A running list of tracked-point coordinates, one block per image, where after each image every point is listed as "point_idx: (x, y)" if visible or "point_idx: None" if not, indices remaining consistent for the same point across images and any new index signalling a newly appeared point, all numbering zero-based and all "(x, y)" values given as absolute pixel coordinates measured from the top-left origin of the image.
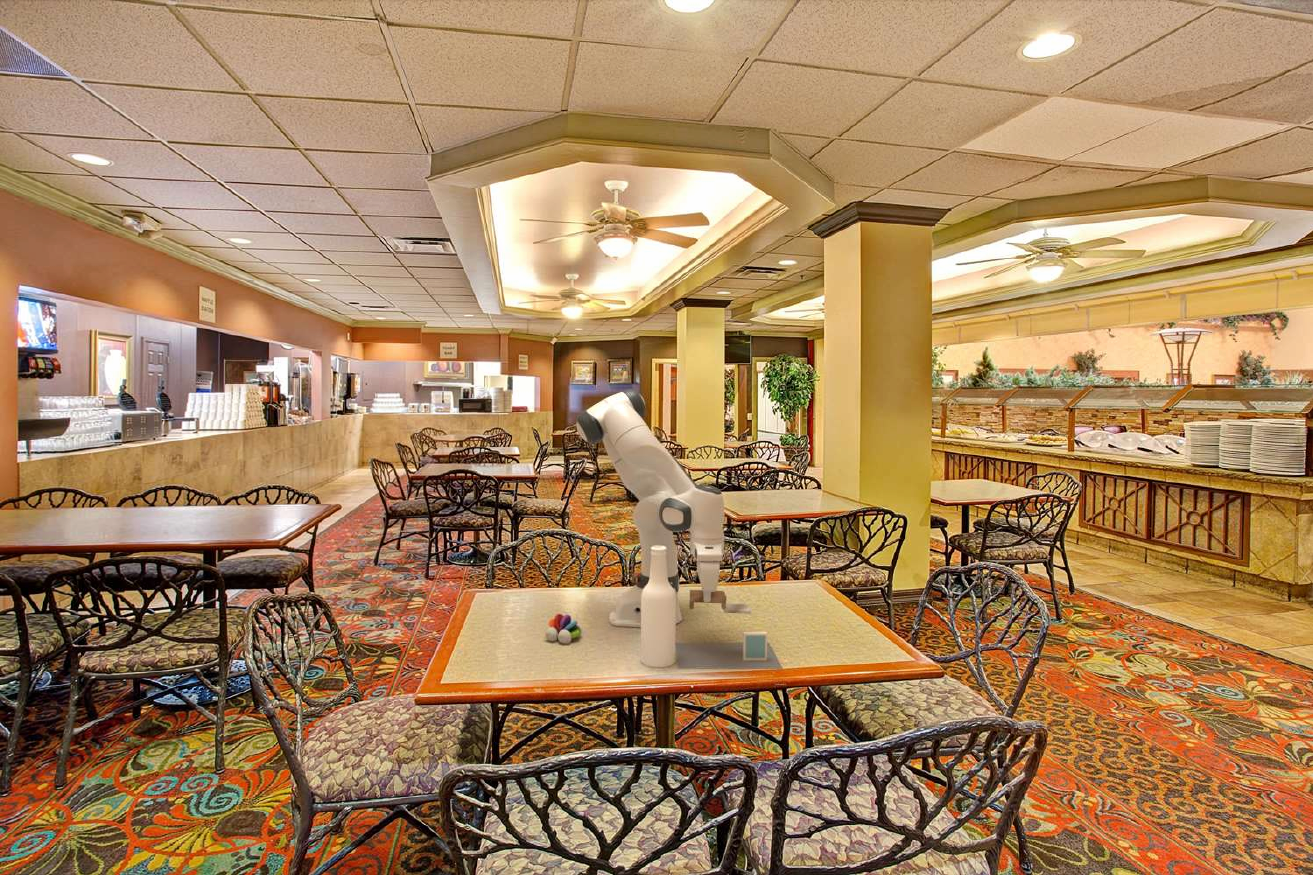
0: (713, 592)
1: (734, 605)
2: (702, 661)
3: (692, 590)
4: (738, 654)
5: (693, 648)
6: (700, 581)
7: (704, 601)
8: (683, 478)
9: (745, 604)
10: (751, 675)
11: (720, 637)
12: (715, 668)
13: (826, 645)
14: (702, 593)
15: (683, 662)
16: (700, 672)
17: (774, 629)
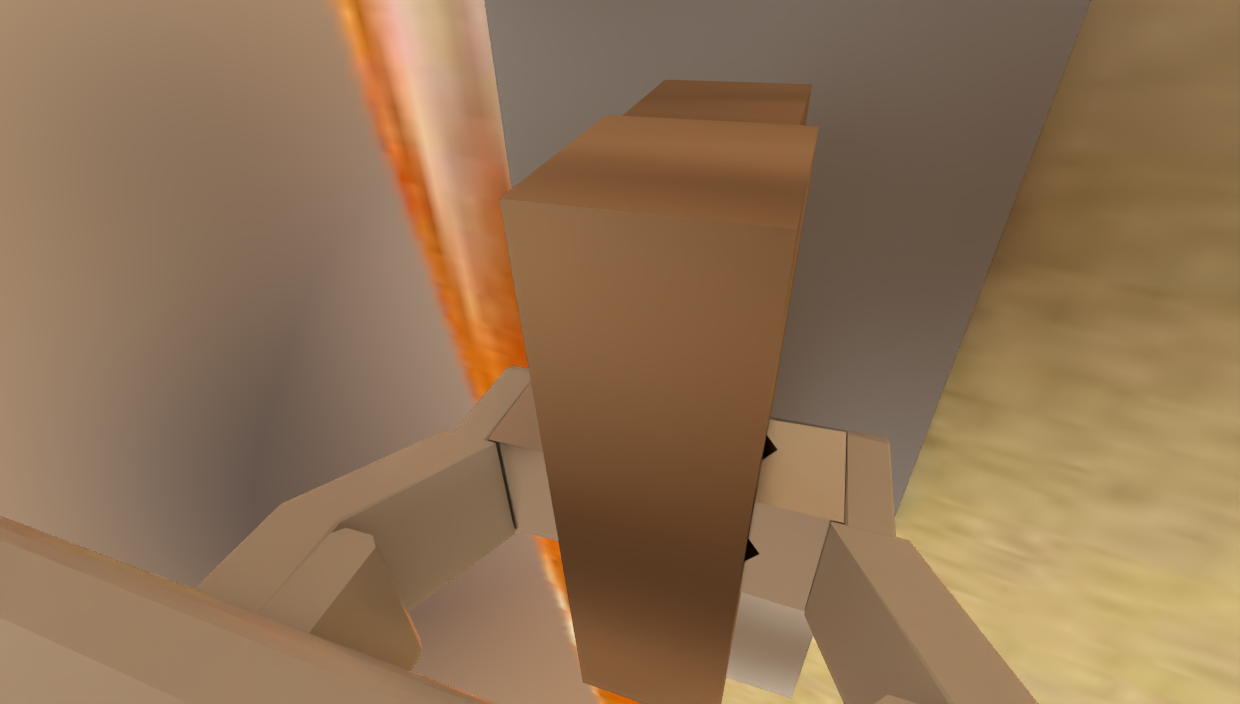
0: (617, 607)
1: (754, 614)
2: (611, 105)
3: (727, 294)
4: None
5: (895, 58)
6: (76, 675)
7: (515, 371)
8: None
9: (785, 685)
10: (493, 331)
11: (1156, 334)
12: (512, 175)
13: (821, 680)
14: (550, 446)
15: None
16: (484, 70)
17: (1147, 647)
